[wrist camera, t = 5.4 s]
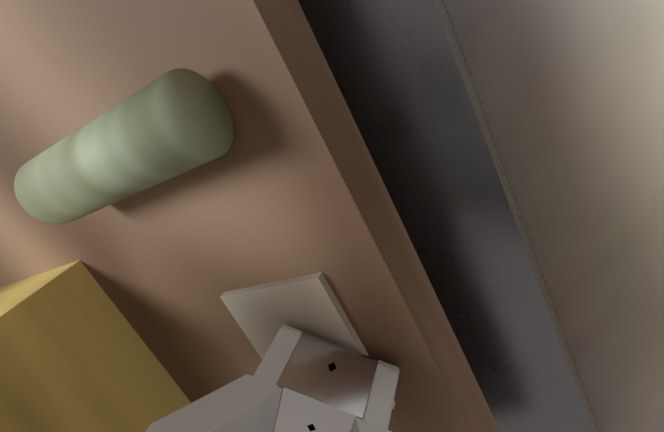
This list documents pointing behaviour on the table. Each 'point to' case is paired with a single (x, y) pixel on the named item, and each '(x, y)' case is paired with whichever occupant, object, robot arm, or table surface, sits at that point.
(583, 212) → the table surface
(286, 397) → the robot arm
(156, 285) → the level plate
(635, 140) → the table surface
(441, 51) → the grey tray
